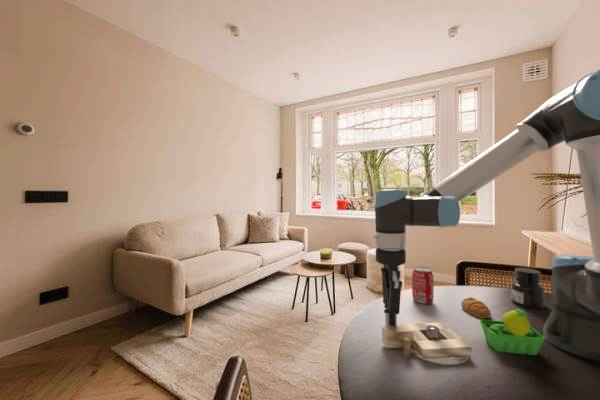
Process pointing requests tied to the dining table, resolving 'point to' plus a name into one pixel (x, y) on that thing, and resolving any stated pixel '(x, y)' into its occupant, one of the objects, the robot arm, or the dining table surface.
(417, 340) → the wooden block frame
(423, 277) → the soda can
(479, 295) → the dining table surface
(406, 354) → the dowel
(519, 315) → the fruit basket
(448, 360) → the pot lid
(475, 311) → the pastry
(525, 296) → the ink bottle
